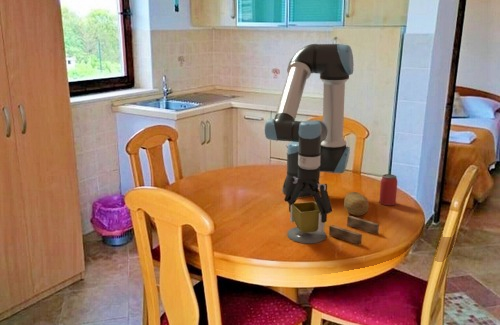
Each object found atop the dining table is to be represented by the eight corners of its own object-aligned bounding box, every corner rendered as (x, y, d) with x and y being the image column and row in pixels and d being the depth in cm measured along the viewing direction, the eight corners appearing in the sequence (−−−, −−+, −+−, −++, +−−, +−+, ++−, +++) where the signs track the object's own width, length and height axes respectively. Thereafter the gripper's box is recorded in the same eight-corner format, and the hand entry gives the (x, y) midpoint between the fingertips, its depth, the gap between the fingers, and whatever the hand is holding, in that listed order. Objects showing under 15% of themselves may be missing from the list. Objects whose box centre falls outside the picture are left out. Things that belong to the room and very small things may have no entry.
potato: (362, 206, 203) (363, 188, 201) (373, 219, 190) (374, 200, 187) (338, 207, 202) (339, 189, 200) (348, 220, 189) (349, 201, 187)
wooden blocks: (329, 235, 176) (329, 226, 175) (349, 224, 185) (349, 215, 184) (358, 245, 168) (359, 235, 167) (378, 233, 178) (378, 224, 177)
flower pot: (323, 233, 173) (324, 209, 170) (300, 236, 170) (300, 212, 168) (313, 224, 181) (314, 201, 178) (291, 227, 178) (291, 203, 176)
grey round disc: (278, 235, 175) (278, 234, 175) (302, 224, 185) (302, 223, 185) (311, 247, 166) (311, 246, 166) (334, 234, 176) (334, 233, 176)
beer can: (396, 206, 203) (398, 178, 200) (379, 205, 204) (381, 177, 201) (394, 201, 209) (397, 174, 206) (378, 200, 211) (380, 173, 207)
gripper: (275, 162, 174) (274, 220, 180) (332, 175, 159) (329, 238, 165) (288, 158, 179) (287, 214, 185) (344, 170, 164) (341, 231, 170)
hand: (307, 225), depth 175 cm, fingers closed on flower pot, 11 cm apart
